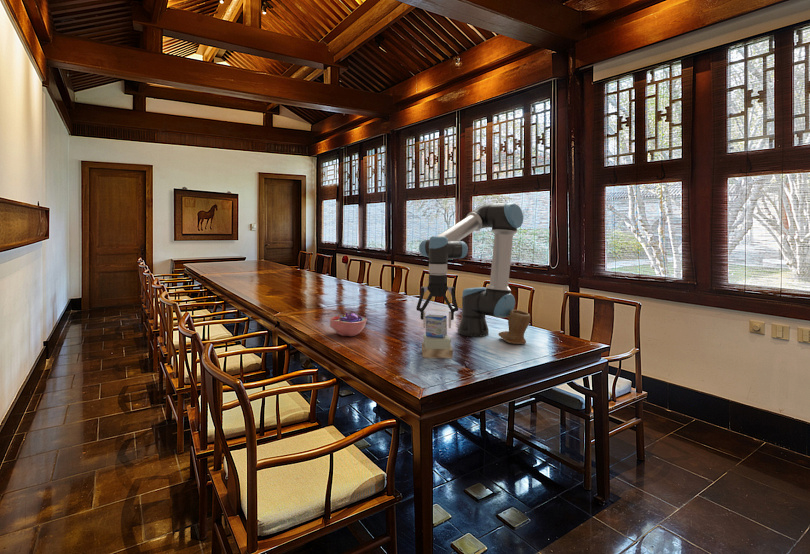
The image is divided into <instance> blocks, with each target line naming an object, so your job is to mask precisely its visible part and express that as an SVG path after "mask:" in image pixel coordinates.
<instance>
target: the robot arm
mask: <svg viewBox="0 0 810 554" xmlns="http://www.w3.org/2000/svg"><path fill="white" fill-rule="evenodd" d="M523 223H524V212H523V210H522V208H521V206H520V205H519V204H517V203H516V202H499V203H498V202H496V203H495V202H494V203H486V204H484V205H481V206H479V207H477V208H475V209H473V210H471V211H470V212H469V213H467V215H466V216H465V217H464V218H463V219H462V220H460V221H459V222H456V223H455V224H454V225H452V226H450V227H449V228H447V229H446V230H443V232H441V233H440V234H438V235H437V236H436V235H435V236H431V237H429V239H424V240H422V241H420V243H419V247H418V249H419V253H420V255H422V257H427V258H428V285H427V286H421V287H420V295H419V299H418V302H417V304H416V311H418V312H420V320H421V321H423V322H422V328H423V329H426V319H425V316H426V310H425V309H426V308H427V306H428V305H429V303H430V301H431V300H432V298H433V297H434V298H437V297H440V298H442V297H443V299H444V301H445V303H446V305H447V306H448V309H449V310H450V311H448V328H449V329H452V321H454V319H455V313H456V312H458V311H459V306H458V302H457V299H456V294H455V290H456V289H455V287H454V286H450V287H449V286H448V275H447V274H448V260H456V259H457V260H459V259H464V258H465V257H466V256H467V255H468V253H469V247H468V244H467V243H466V242H465V241H463V239H464V238H466V237H467V236H469V235H470V234H472V233H473V232H478V231H480V230H482V229H487V228H491V231H492V233H493V234H494V236H493V249H492V257H491V270H490V279H489V280H490V281H489V285H487V286H486V287H484V286H483V287H481V286H480V287H467V288H464V289H463V290H462V295H461V319H460V322H459V324H458V328H457V333H458V334H459V335H461V336H464V337H473V338H474V337H476V338H477V337H486V336H488V335H489V332H490V331H489V327H488V324H487V320H486V316H488V317H495V318H501V319H504V318H505V319H506V318H509V313H510V311H511V310H515V305H516V299H515V296H514V295H513V294H512V290H511V288H510V287H509V282H510V271H511V270H510V269H511V260H512V251H513V250H512V249H513V241H514V236H515V235H516V234H517V233H518V229H519V228H521V227H522V224H523ZM427 291H428V292H429V295H428V296H427V298H426V299H425V301H424V303H423V305H422V307H421V304H422V302H423V298H424V295H425V293H426V292H427ZM447 292H449V293H450V296H451V299H452V302H453V307H452V304H451V302H450V301H449V299H448V297H447V295H446V293H447Z"/></svg>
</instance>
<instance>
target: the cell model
mask: <svg viewBox="0 0 810 554" xmlns="http://www.w3.org/2000/svg"><path fill="white" fill-rule="evenodd" d="M367 321H368V318H367V317H364V316H362V315H357V314H356V313H354V312H352V313H351V312H350V313H349V314H348V313H347V312H345V314H337V315H334V316H331V317H330V318H329V327H330V329H332V331H334V333H336V334H338V335H340V336H341V337H355V336H356V335H358V334H360V333H361V332H362V331H363V329H364V328H365V327H366V323H367Z"/></svg>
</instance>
